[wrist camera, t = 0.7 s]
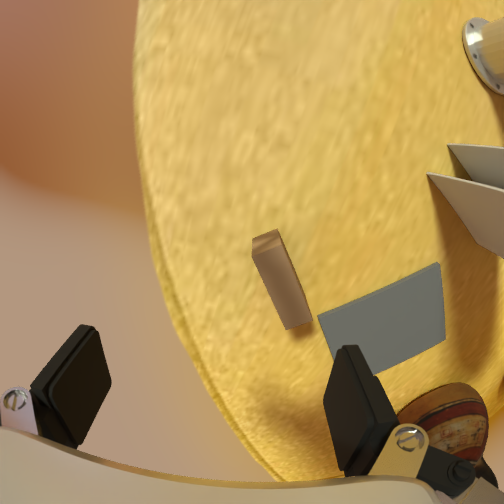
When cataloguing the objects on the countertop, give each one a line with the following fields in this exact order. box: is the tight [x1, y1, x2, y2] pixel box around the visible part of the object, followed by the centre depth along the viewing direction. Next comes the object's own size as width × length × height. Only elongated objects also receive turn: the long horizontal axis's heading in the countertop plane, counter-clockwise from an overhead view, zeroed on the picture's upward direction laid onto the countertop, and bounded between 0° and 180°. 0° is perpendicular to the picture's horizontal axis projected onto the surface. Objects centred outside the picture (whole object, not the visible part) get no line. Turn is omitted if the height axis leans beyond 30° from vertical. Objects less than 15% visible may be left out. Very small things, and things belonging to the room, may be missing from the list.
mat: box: [317, 262, 446, 375], centre depth 37 cm, size 18×14×1 cm
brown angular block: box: [252, 229, 312, 330], centre depth 32 cm, size 3×9×6 cm, turn 24°
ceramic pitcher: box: [397, 383, 498, 489], centre depth 30 cm, size 20×20×30 cm
